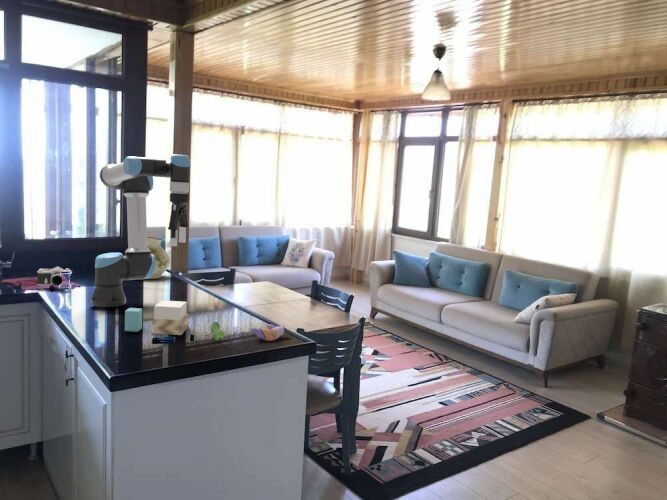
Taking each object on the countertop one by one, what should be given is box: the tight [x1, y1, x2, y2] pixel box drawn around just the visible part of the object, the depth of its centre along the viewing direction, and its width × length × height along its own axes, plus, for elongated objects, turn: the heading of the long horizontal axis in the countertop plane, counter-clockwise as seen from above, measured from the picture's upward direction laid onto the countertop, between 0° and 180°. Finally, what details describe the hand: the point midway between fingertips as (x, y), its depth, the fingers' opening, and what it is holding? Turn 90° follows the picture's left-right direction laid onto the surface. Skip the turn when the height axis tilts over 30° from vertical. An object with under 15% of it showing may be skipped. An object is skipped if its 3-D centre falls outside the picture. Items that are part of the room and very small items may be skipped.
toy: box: [250, 323, 287, 342], centre depth 210 cm, size 9×6×15 cm
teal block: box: [124, 307, 143, 333], centre depth 211 cm, size 5×5×8 cm
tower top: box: [153, 299, 188, 320], centre depth 213 cm, size 10×10×5 cm
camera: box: [36, 266, 72, 286], centre depth 281 cm, size 16×9×10 cm, turn 117°
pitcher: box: [146, 236, 171, 280], centre depth 317 cm, size 22×24×25 cm
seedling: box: [204, 321, 226, 341], centre depth 207 cm, size 7×8×6 cm
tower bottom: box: [151, 313, 190, 336], centre depth 214 cm, size 11×11×6 cm
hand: (178, 244), depth 223 cm, fingers open, 13 cm apart
